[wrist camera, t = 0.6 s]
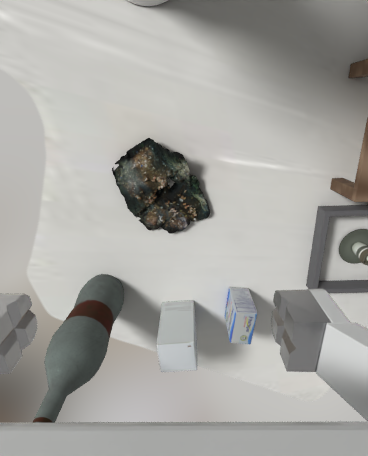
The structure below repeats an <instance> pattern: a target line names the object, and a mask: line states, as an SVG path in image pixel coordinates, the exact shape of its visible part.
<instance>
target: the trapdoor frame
mask: <svg viewBox="0 0 368 456" xmlns="http://www.w3.org/2000/svg"><path fill="white" fill-rule="evenodd" d="M366 76H368V59H366V60H362V61H359V62H356V63H352V64H351V66H350V72H349V78H360V77H366ZM330 189H331V190H333V191H335V192H337V193H339V194H341V195H343V196H345V197H347V198H348V199H350V200H352V201H354V202H368V118H367V123H366V128H365V133H364V138H363V144H362V149H361V154H360V159H359V164H358V169H357V174H356V179H355V183H354V182H351V181H349V180H346V179H344V178H332V182H331V188H330Z"/></svg>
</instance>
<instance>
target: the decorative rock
mask: <svg viewBox="0 0 368 456" xmlns="http://www.w3.org/2000/svg"><path fill="white" fill-rule="evenodd" d="M126 153H127V154H126V155H125V156H122V157H121V158H120V160H118V161H117V162H116V163H115V164H119V166H118V167H117V168H116V169H115V170H114V171H113V168H112V171H113V175H114V177H115V179H116V184H117V186H118V187H119V189H120V192H121V194H122V195H123V196H124V198H125V201H126V204H127V206H128V209H129V210H130V211H131V212H132V213H133V215H134V216H136V217H137V216H138V217H140V218H141V219H140V220H139V221H140V222H141V223H143V224H144V225H145V226H146V228H147V229H148V230H153V229H158V228H160V227H162V228H163V229H164V230H167V231H168V233H174V232H176V231H181V230H183V229H185V228H186V226H187V225H189V224H190V220H191V221H196V220H201V219H203V218H207V217H208V216H209V215H210V210H209V206H208V203H207V200H206V199H205V198H204V196H203V192H202V191H201V189H200V188H199V181H198V180H197V178H196V176H194V175H190V170H189V167H188V165H187V161H186V160H185V158H184V157H183V155H182V154H180V153H178V152H172V153H170V152H169V150H167V149H165V148H162V146H161V145H159V144H158V143H156V142H154V140H152V139H150V138H148V139H146V140H144V141H142V142H141V143H139V144H138V145H136V146H135V147H133V148H132V149H130V150H128V151H127V152H126ZM168 177H169V178H170V179H172V180H173V181H175V183H174V185H173V186H172V187H171V188H170V185H168V182H169V181H167V178H168ZM159 189H160V190H159Z"/></svg>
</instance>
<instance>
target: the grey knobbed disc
mask: <svg viewBox="0 0 368 456" xmlns="http://www.w3.org/2000/svg"><path fill="white" fill-rule="evenodd" d="M339 254H340V256H341V258H342V259H343V260H344V261H346V262H348V263H361V262H362V263H363V264H365V265H368V230H367V229H359V230H355V231H353V232H351V233H349V234H348V235H347V236H345V237H344V239H343V240H342V241H341V243H340V246H339Z"/></svg>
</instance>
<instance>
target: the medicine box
mask: <svg viewBox="0 0 368 456" xmlns="http://www.w3.org/2000/svg"><path fill="white" fill-rule="evenodd" d="M256 317H257V310H256V307H255V304H254V302H253V299H252V296H251V294H250V291H249V289H248V288H233V287H229V292H228V298H227V304H226V311H225V319H226V325H227V330H228V335H229V340H230V343H238V344H251V339H252V335H253V331H254V326H255V321H256Z"/></svg>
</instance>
